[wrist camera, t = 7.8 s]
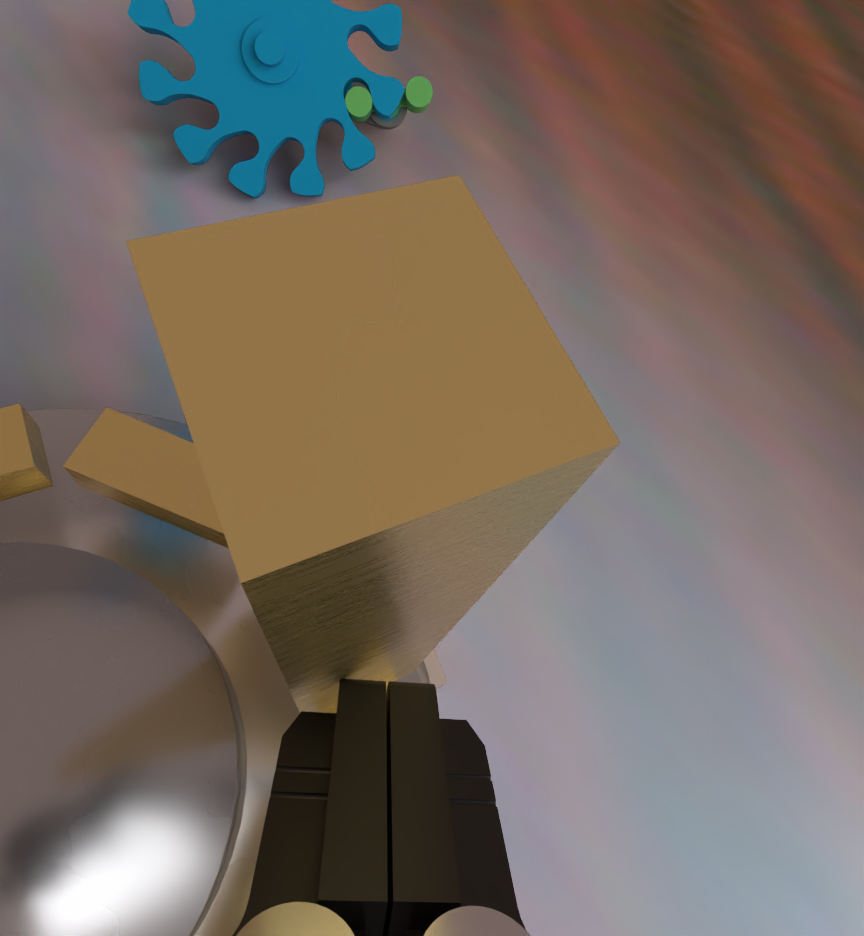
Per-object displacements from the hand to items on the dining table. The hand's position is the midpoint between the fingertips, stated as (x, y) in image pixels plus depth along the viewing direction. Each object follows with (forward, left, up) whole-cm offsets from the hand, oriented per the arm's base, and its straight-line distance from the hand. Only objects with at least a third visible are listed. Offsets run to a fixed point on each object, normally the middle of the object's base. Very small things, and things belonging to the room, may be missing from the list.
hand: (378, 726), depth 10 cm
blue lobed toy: (-3, -24, -9) cm, 25 cm away
